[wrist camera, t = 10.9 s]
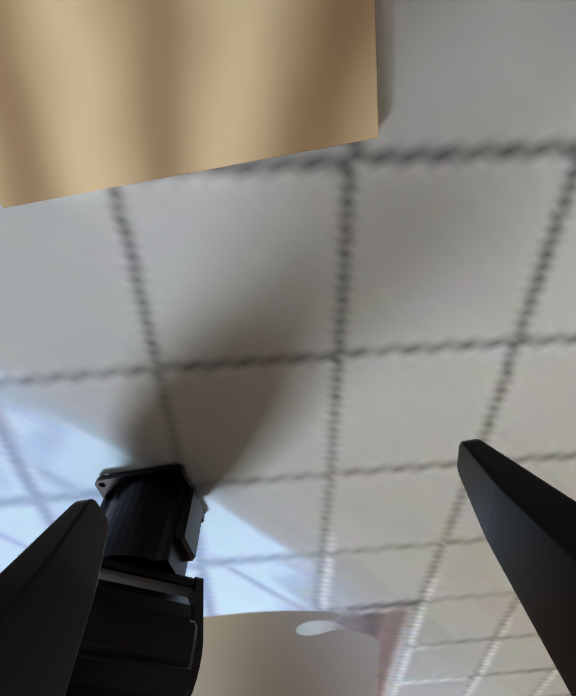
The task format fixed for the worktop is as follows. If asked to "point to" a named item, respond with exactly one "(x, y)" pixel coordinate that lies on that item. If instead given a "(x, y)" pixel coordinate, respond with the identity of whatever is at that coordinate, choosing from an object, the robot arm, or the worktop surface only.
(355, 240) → the worktop surface
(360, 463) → the worktop surface
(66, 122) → the striped wooden cutting board
